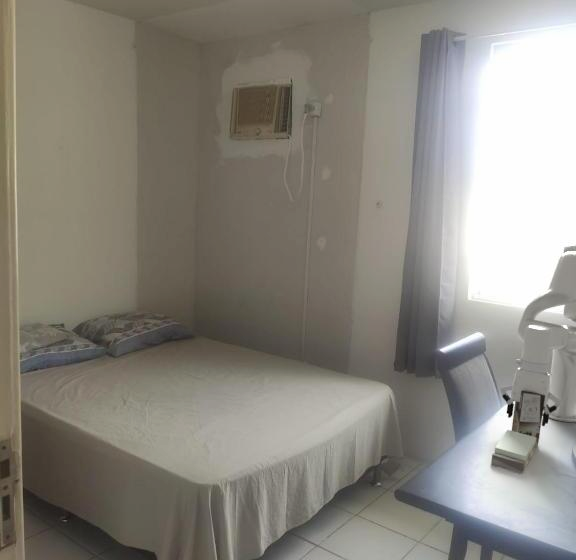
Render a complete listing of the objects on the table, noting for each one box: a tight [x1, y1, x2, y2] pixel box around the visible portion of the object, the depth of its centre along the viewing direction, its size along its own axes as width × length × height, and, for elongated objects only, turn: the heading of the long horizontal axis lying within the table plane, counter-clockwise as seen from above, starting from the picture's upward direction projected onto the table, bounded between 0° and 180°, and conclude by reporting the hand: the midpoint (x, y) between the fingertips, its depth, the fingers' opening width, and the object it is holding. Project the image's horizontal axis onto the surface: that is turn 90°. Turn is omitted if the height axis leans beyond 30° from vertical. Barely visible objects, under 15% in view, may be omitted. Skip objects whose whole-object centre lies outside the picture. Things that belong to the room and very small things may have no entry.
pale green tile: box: [493, 429, 536, 461], centre depth 160 cm, size 16×8×2 cm, turn 147°
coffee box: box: [511, 391, 545, 448], centre depth 172 cm, size 9×6×16 cm
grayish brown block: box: [490, 444, 535, 475], centre depth 159 cm, size 18×8×3 cm, turn 147°
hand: (526, 420), depth 172 cm, fingers open, 9 cm apart
